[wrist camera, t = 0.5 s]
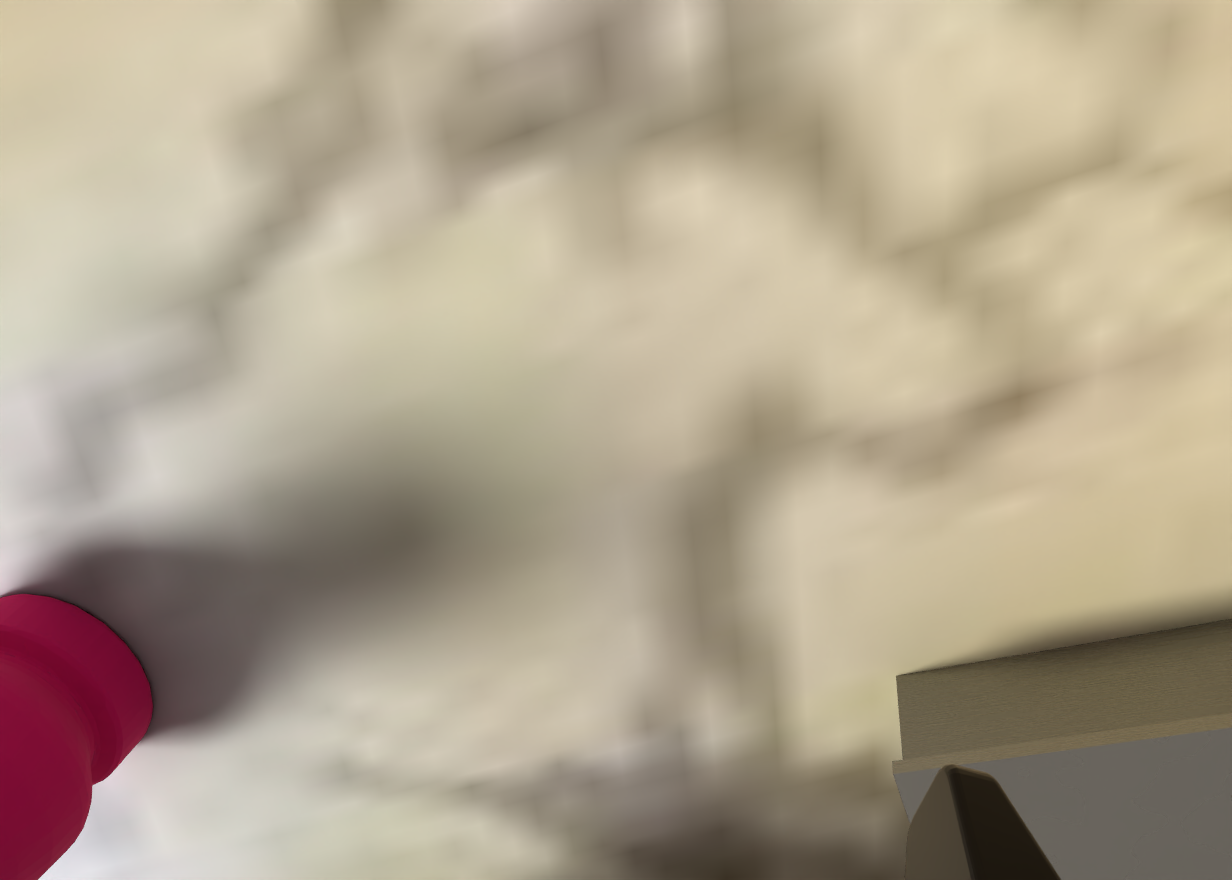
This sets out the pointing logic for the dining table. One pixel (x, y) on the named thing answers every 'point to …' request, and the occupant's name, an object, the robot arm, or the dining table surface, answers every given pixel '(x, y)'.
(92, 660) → the pepper mill
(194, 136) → the dining table surface
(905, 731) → the slate tin
